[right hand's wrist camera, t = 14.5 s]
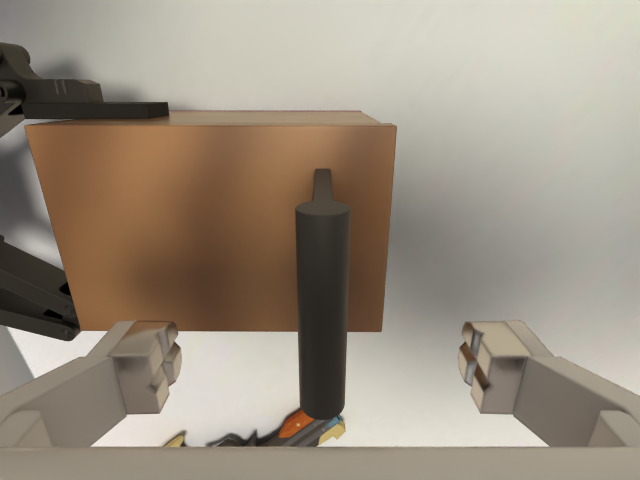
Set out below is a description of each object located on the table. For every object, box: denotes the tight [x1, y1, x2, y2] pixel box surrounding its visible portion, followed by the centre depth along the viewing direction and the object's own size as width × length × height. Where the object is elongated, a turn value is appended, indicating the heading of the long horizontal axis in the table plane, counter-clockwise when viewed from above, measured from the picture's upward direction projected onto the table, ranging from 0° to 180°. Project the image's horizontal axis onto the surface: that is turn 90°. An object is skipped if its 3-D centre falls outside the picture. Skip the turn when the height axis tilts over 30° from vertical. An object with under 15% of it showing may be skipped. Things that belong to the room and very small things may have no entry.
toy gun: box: [164, 410, 345, 447], centre depth 38 cm, size 3×19×10 cm
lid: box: [24, 123, 397, 420], centre depth 15 cm, size 16×10×8 cm, turn 90°
